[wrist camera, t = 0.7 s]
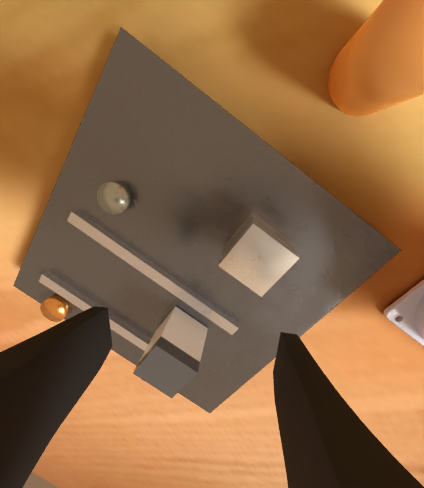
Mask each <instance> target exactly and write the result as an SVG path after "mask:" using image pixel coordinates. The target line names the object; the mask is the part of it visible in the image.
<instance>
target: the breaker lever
mask: <svg viewBox="0 0 424 488" xmlns="http://www.w3.org/2000/svg"><path fill="white" fill-rule="evenodd" d="M207 330H208V328H207V327H205V326H204V325H202V324H201V323H199V322H198V321H196V320H195V319H193V318H192V317H191V316H189V315H188V314H186V313H185V312H183V311H182V310H180V309H179V308H177V307H176V306H175V308H174V309H173V310H172V311H171V313H170V314H169V315H168V316H167V317H166V319H165V320H164V321H163V322H162V324H161V325H160V326H159V327H158V329H157V330H156V331H155V333H154V335H153V337H152V339H151V341H150V342H149V344H148V346H147V348H146V350H145V352H144V354H143V356H142V357H141V359H140V361H139V363H138V365H137V367H136V369H135V370H134V372H133V374H135V375H136V376H138V377H140V378H141V379H143V380H144V381H146V382H147V383H149V384H150V385H152V386H154V387H155V388H157V389H158V390H160V391H161V392H163V393H164V394H166V395H168V396H169V397H171V398H173V397H174V396H175V395H176V394H177V393H178V392H179V391H180V390H181V389H182V388H183V387H184V386H185V385H186V384H187V383H188V382H189V381H190V380H191V379H192V378H193V377H194V376H195V375H196V374H197V373H198V369H199V365H200V360H201V356H202V352H203V348H204V343H205V339H206V335H207Z"/></svg>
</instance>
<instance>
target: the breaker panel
mask: <svg viewBox="0 0 424 488" xmlns="http://www.w3.org/2000/svg"><path fill="white" fill-rule="evenodd" d="M400 251H401V249H399V248H398V247H397V246H395V245H394V244H393V243H392V242H390V241H389V240H388V239H387V238H385V237H384V236H383V235H382V234H380V233H379V232H378V231H377V230H375V229H374V228H373V227H372V226H370V225H369V224H368V223H367V222H365V221H364V220H363V219H362V218H360V217H359V216H358V215H357V214H355V213H354V212H353V211H352V210H350V209H349V208H348V207H346V206H345V205H344V204H343V203H341V202H340V201H339V200H338V199H336V198H335V197H334V196H333V195H331V194H330V193H329V192H328V191H326V190H325V189H324V188H323V187H321V186H320V185H319V184H318V183H316V182H315V181H314V180H313V179H311V178H310V177H309V176H308V175H306V174H305V173H304V172H303V171H301V170H300V169H299V168H298V167H296V166H295V165H294V164H292V163H291V162H290V161H289V160H287V159H286V158H285V157H284V156H282V155H281V154H280V153H279V152H277V151H276V150H275V149H274V148H272V147H271V146H270V145H269V144H267V143H266V142H265V141H264V140H262V139H261V138H260V137H259V136H257V135H256V134H255V133H254V132H252V131H251V130H250V129H249V128H247V127H246V126H245V125H243V124H242V123H241V122H240V121H238V120H237V119H236V118H235V117H233V116H232V115H231V114H230V113H228V112H227V111H226V110H225V109H223V108H222V107H221V106H220V105H218V104H217V103H216V102H215V101H213V100H212V99H211V98H210V97H208V96H207V95H206V94H205V93H203V92H202V91H201V90H200V89H198V88H197V87H196V86H195V85H193V84H192V83H191V82H189V81H188V80H187V79H186V78H184V77H183V76H182V75H181V74H179V73H178V72H177V71H176V70H174V69H173V68H172V67H171V66H169V65H168V64H167V63H166V62H164V61H163V60H162V59H161V58H159V57H158V56H157V55H156V54H154V53H153V52H152V51H151V50H149V49H148V48H147V47H146V46H144V45H143V44H142V43H140V42H139V41H138V40H137V39H135V38H134V37H133V36H132V35H130V34H129V33H128V32H127V31H125V30H124V29H123V28H122V27H121V28H120V31H119V33H118V36H117V38H116V40H115V43H114V45H113V48H112V50H111V52H110V55H109V57H108V60H107V62H106V64H105V67H104V69H103V72H102V74H101V76H100V79H99V81H98V84H97V86H96V88H95V91H94V93H93V96H92V98H91V100H90V103H89V105H88V108H87V110H86V112H85V115H84V117H83V120H82V122H81V124H80V127H79V129H78V132H77V134H76V136H75V139H74V141H73V144H72V146H71V148H70V151H69V153H68V156H67V158H66V160H65V163H64V165H63V168H62V170H61V172H60V175H59V177H58V180H57V182H56V184H55V187H54V189H53V192H52V194H51V196H50V199H49V201H48V204H47V206H46V208H45V211H44V213H43V216H42V218H41V220H40V223H39V225H38V228H37V230H36V232H35V235H34V237H33V240H32V242H31V244H30V247H29V249H28V252H27V254H26V256H25V259H24V261H23V264H22V266H21V268H20V271H19V273H18V276H17V278H16V280H15V283H14V285H13V286H15V287H16V288H18V289H19V290H21V291H22V292H24V293H25V294H27V295H29V296H30V297H32V298H33V299H35V300H36V301H38V302H39V303H41V306H40V309H41V312H42V314H43V315H44V316H45V317H46V318H47V319H49V320H51V321H54V322H58V321H61V320H62V319H63V318H64V319H66V320H67V319H69V318H71V317H73V316H75V315H77V314H79V313H81V312H83V311H85V310H87V309H89V308H91V307H94V306H98V307H105V308H108V312H109V321H110V329H111V338H112V348H111V349H112V350H113V351H115V352H116V353H118V354H119V355H121V356H123V357H124V358H126V359H127V360H129V361H130V362H132V363H133V364H135V365H136V366H137V365H138V363H139V361H140V359H141V357H142V356H143V354H144V352H145V350H146V348H147V346H148V344H149V342H150V341H151V339H152V337H153V335H154V333H155V331H156V330H157V329H158V327H159V326H160V325H161V324H162V322H163V321H164V320H165V319H166V317H167V316H168V315H169V314H170V313H171V311H172V310H173V309H174V308H175V306H176V307H177V308H179V309H180V310H182V311H183V312H185V313H186V314H188V315H189V316H191V317H192V318H193V319H195V320H196V321H198V322H199V323H201V324H202V325H204V326H205V327H207V328H208V330H207V335H206V339H205V343H204V348H203V352H202V356H201V360H200V365H199V369H198V373H197V374H196V375H195V376H194V377H193V378H192V379H191V380H190V381H189V382H188V383H187V384H186V385H185V386H184V387H183V388H182V389H181V390H180V391H179V392H178V393H180V394H181V395H183V396H184V397H186V398H187V399H189V400H190V401H192V402H193V403H195V404H196V405H198V406H200V407H201V408H203V409H204V410H206V411H207V412H209V413H211V412H212V411H213V410H214V409H215V408H217V407H218V406H219V405H220V404H221V403H222V402H224V401H225V400H226V399H227V398H228V397H230V396H231V395H232V394H233V393H234V392H235V391H237V390H238V389H239V388H240V387H241V386H242V385H244V384H245V383H246V382H247V381H248V380H250V379H251V378H252V377H253V376H254V375H255V374H257V373H258V372H259V371H260V370H261V369H262V368H264V367H265V366H266V365H267V364H268V363H270V362H271V361H272V360H273V359H274V358H275V357H276V354H277V349H278V343H279V338H280V333H281V332H284V333H291V334H297V335H298V336H299V337H300V336H301V335H302V334H304V333H305V332H306V331H307V330H308V329H310V328H311V327H312V326H313V325H314V324H315V323H317V322H318V321H319V320H320V319H321V318H322V317H324V316H325V315H326V314H327V313H328V312H330V311H331V310H332V309H333V308H334V307H335V306H337V305H338V304H339V303H340V302H341V301H342V300H344V299H345V298H346V297H347V296H348V295H350V294H351V293H352V292H353V291H354V290H355V289H357V288H358V287H359V286H360V285H361V284H362V283H364V282H365V281H366V280H367V279H368V278H370V277H371V276H372V275H373V274H374V273H375V272H377V271H378V270H379V269H380V268H381V267H382V266H384V265H385V264H386V263H387V262H388V261H390V260H391V259H392V258H393V257H394V256H395V255H397V254H398V253H399V252H400Z"/></svg>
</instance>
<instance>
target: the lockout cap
mask: <svg viewBox="0 0 424 488" xmlns="http://www.w3.org/2000/svg"><path fill="white" fill-rule="evenodd" d="M328 88H329V94H330V97H331V99H332V101H333V103H334V104H335V106H336V107H337V108H338V109H339V110H341V111H342V112H344V113H346V114H349V115H354V116H363V115H368V114H371V113H374V112H376V111H379V110H382V109H385V108H387V107H390V106H393V105H395V104H398V103H401V102H403V101H406V100H409V99H411V98H414V97H417V96H419V95H422V94H424V0H383V2H382V3H381V4H380V5H379V6H378V7H377V9H376V10H375V11H374V12H373V13H372V14H371V16H370V17H369V18H368V19H367V20H366V21H365V23H364V24H363V25H362V26H361V27H360V28H359V30H358V31H357V32H356V33H355V34H354V36H353V37H352V38H351V39H350V40H349V41H348V43H347V44H346V45H345V46H344V47H343V48H342V50H341V51H340V52H339V53H338V55H337V56H336V58H335V60H334V62H333V64H332V67H331V70H330V73H329V79H328Z"/></svg>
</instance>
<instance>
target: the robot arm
mask: <svg viewBox="0 0 424 488" xmlns="http://www.w3.org/2000/svg"><path fill="white" fill-rule="evenodd" d="M384 315H385V316H386V318H387V319H388V320H390V321H391V322H392V323H394V324H395V325H396V326H398V327H399V328H400V329H402V330H403V331H404V332H406V333H407V334H408V335H410V336H411V337H412V338H414V339H415V340H416V341H418V342H419V343H420V344H421V345H423V346H424V280H422V281H421V282H420V283H418V284H417V285H416V286H414V287H413V288H412V289H411V290H409V291H408V292H407V293H405V294H404V295H403V296H401V297H400V298H399V299H398V300H396V301H395V302H394V303H392V304H391V305H390V306H388V307H387V308H386V309H385V310H384ZM397 316H399V317H398V318H396V317H397ZM111 348H112V338H111V329H110V321H109V312H108V308H105V307H98V306H94V307H91V308H89V309H87V310H85V311H83V312H81V313H79V314H77V315H75V316H73V317H71V318H69V319H67V320H65V321H63V322H61V323H59V324H57V325H55V326H54V327H52V328H50V329H48V330H46V331H44V332H42V333H40V334H38V335H36V336H34V337H32V338H29V339H27V340H25V341H23V342H21V343H19V344H17V345H15V346H13V347H11V348H8V349H6V350H4V351H2V352H0V488H23V486H24V484H25V482H26V481H27V479H28V477H29V475H30V474H31V472H32V470H33V468H34V467H35V465H36V463H37V462H38V460H39V458H40V457H41V455H42V453H43V452H44V450H45V448H46V447H47V445H48V443H49V442H50V440H51V439H52V437H53V436H54V434H55V433H56V431H57V430H58V428H59V427H60V425H61V424H62V422H63V421H64V419H65V418H66V417H67V415H68V414H69V412H70V411H71V410H72V408H73V407H74V405H75V404H76V403H77V401H78V400H79V398H80V397H81V396H82V394H83V393H84V391H85V390H86V389H87V387H88V386H89V384H90V383H91V381H92V380H93V378H94V377H95V376H96V374H97V373H98V371H99V370H100V368H101V366H102V365H103V363H104V361H105V359H106V357H107V355H108V354H109V352H110V350H111ZM273 378H274V396H275V405H276V411H277V417H278V424H279V430H280V436H281V442H282V448H283V455H284V461H285V467H286V473H287V481H288V488H424V487H423V486H422V485H421V484H420V483H419V482H418V481H417V480H416V479H415V478H414V477H413V476H412V475H411V474H410V473H409V472H408V471H407V470H406V469H405V468H404V467H403V466H402V465H401V464H400V463H399V462H398V461H397V459H396V458H395V457H394V456H393V455H392V454H391V453H390V452H389V451H388V450H387V449H386V448H385V447H384V446H383V445H382V443H381V442H380V441H379V440H378V439H377V438H376V437H375V436H374V435H373V434H372V432H371V431H370V430H369V429H368V428H367V427H366V426H365V425H364V423H363V422H362V421H361V420H360V419H359V417H358V416H357V415H356V414H355V413H354V411H353V410H352V409H351V408H350V407H349V405H348V404H347V403H346V402H345V400H344V399H343V398H342V397H341V395H340V394H339V393H338V391H337V390H336V389H335V388H334V386H333V385H332V384H331V382H330V381H329V379H328V378H327V377H326V375H325V374H324V373H323V371H322V370H321V369H320V367H319V366H318V364H317V363H316V361H315V360H314V359H313V357H312V356H311V354H310V353H309V351H308V350H307V348H306V347H305V345H304V344H303V342H302V341H301V339H300V338H299V336H298V335H297V334H291V333H284V332H281V333H280V338H279V343H278V349H277V354H276V359H275V365H274V370H273Z"/></svg>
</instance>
